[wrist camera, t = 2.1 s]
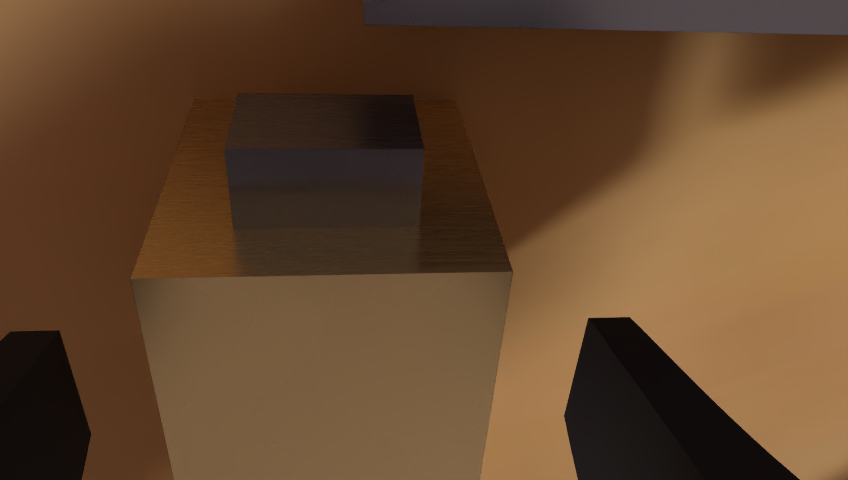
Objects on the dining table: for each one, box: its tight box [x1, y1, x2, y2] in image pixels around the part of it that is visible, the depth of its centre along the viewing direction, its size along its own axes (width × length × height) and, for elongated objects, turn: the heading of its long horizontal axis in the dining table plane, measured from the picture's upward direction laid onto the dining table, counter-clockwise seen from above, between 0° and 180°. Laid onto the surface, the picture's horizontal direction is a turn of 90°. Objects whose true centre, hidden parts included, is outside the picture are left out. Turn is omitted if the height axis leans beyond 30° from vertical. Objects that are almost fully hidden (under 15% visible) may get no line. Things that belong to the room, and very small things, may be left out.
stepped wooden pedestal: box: [130, 93, 513, 480], centre depth 12 cm, size 6×4×5 cm
